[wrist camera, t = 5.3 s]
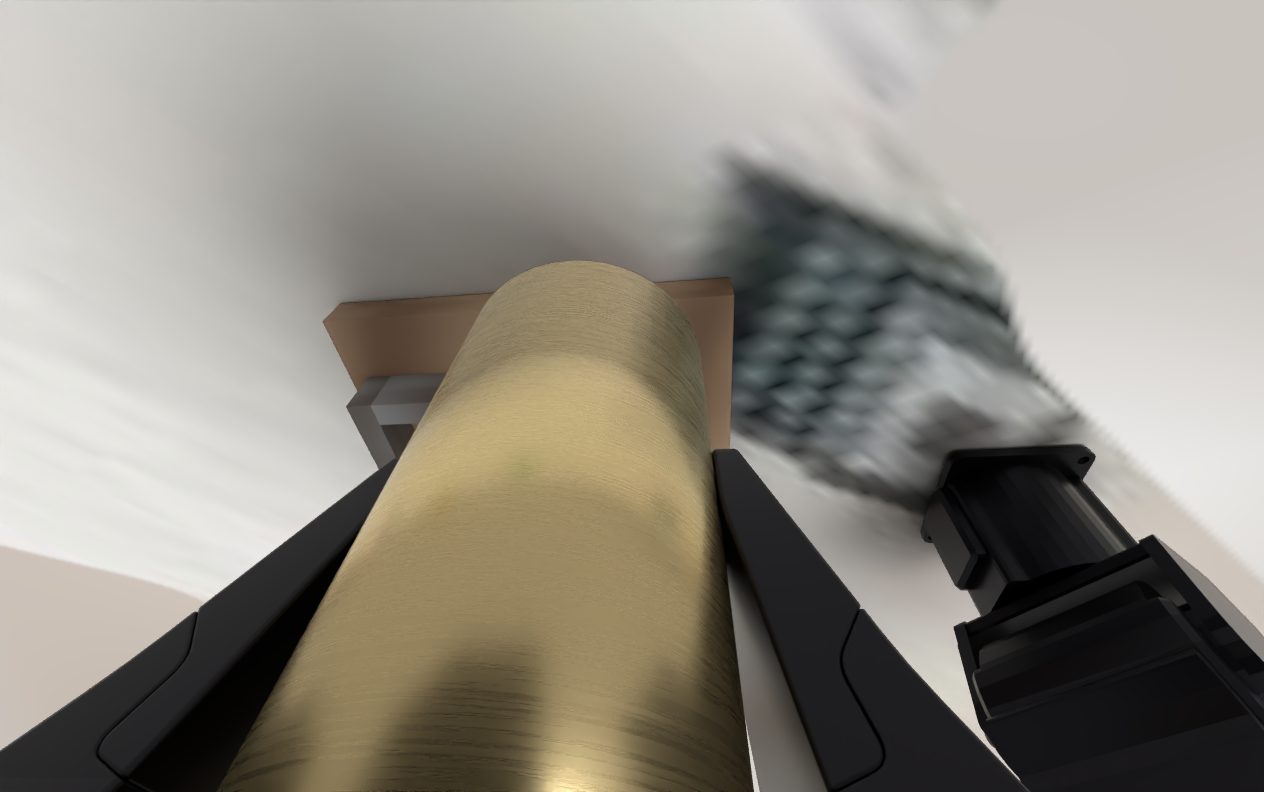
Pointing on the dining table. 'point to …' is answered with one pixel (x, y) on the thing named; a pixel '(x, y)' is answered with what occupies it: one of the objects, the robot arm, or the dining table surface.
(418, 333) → the jig
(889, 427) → the dining table surface
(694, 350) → the solid brass cylinder
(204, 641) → the robot arm
